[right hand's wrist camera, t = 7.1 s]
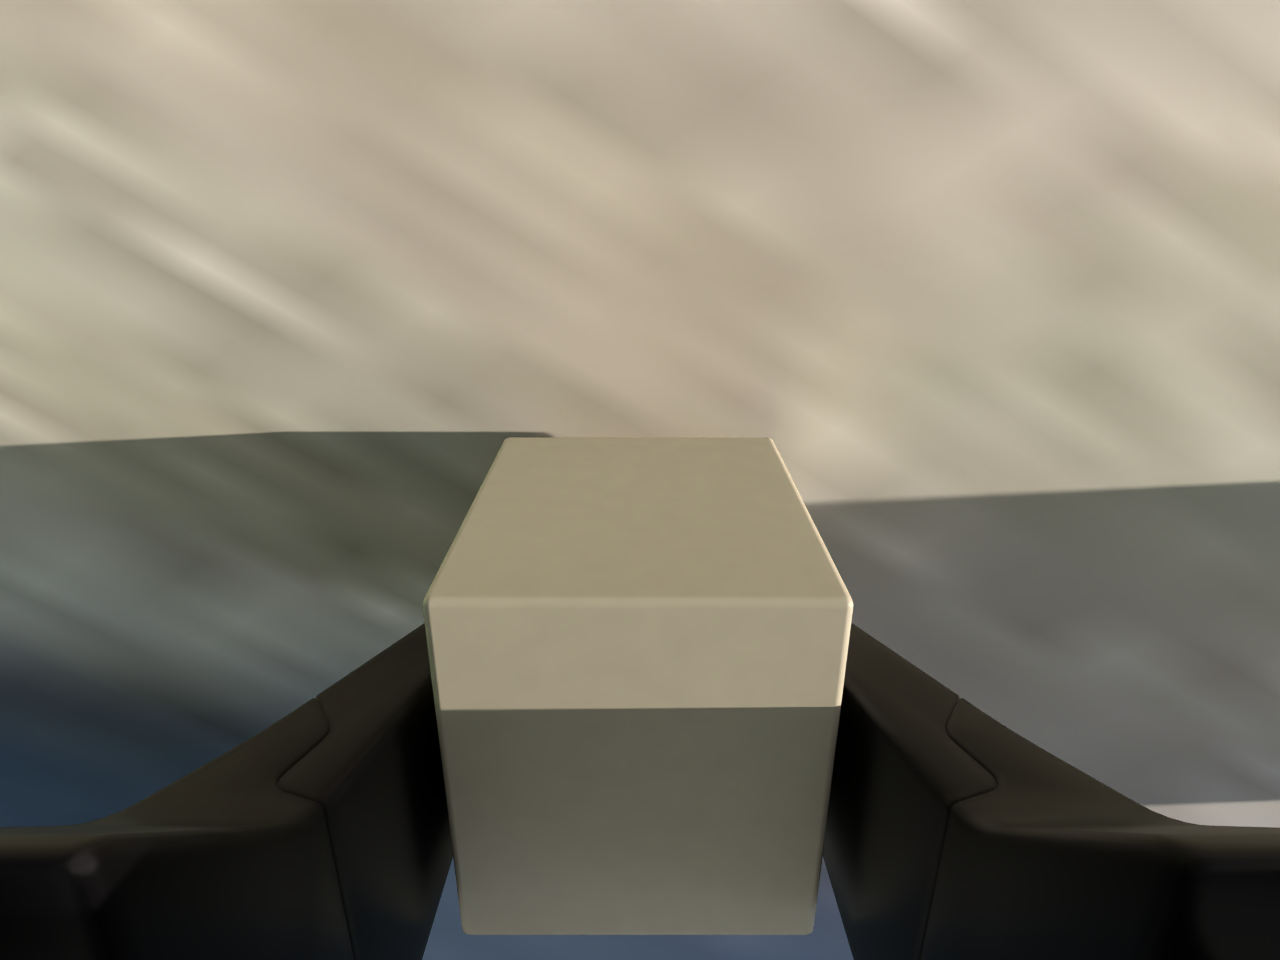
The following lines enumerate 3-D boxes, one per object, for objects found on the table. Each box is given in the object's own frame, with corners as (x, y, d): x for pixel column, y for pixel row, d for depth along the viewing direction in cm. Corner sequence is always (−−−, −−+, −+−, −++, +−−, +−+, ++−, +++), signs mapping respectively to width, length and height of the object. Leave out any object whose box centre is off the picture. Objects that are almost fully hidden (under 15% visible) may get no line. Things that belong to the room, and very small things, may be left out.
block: (773, 435, 12) (857, 600, 7) (755, 681, 13) (815, 939, 9) (504, 434, 12) (418, 599, 7) (520, 681, 13) (460, 938, 9)
